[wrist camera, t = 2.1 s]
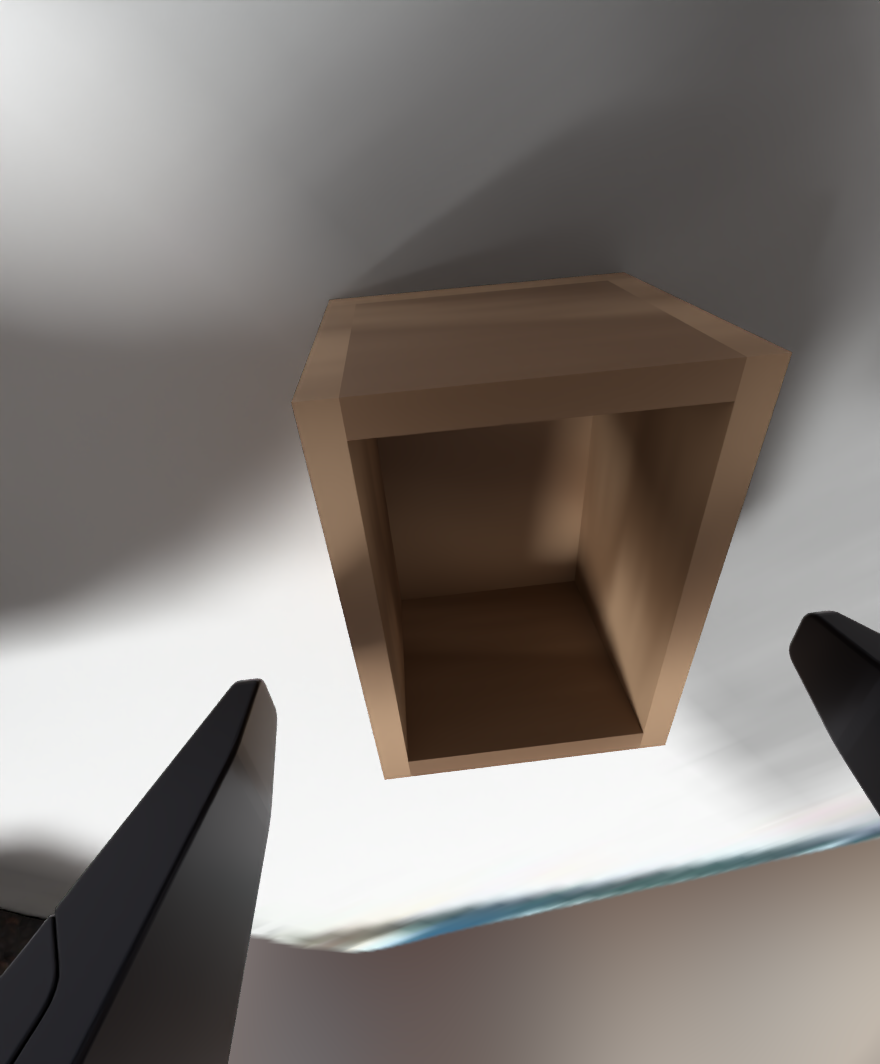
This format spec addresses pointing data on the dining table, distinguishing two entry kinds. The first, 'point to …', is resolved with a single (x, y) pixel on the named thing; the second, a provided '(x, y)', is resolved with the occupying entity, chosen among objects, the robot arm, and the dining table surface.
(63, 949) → the robot arm
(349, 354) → the walnut crate
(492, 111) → the dining table surface
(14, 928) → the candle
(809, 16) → the dining table surface
